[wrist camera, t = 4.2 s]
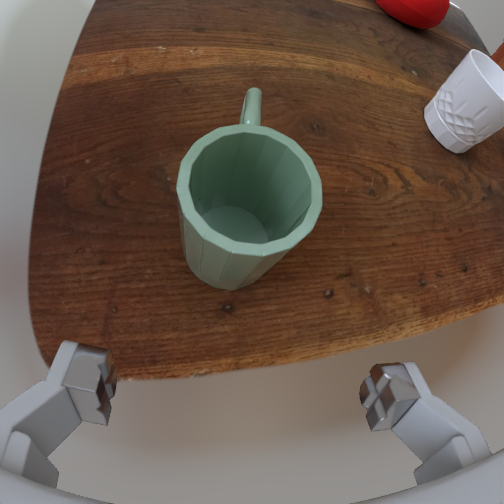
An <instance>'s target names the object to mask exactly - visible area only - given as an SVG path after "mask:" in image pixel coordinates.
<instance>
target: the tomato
mask: <svg viewBox="0 0 504 504" xmlns="http://www.w3.org/2000/svg"><path fill="white" fill-rule="evenodd" d="M375 2H376V3H377V5H378V6H380V7H381V8H382V9H383V10H384V11H385V12H386V13H388V14H389V15H390V16H392V17H394V18H395V19H397V20H399V21H401V22H402V23H405V24H407V25H410V26H413V27H416V28H421V29H428V28H433V27H435V26H437V25H439V23H440V22H441V21H442V20H443V19H444V18H445V15H446V13H447V11H448V9H449V7H450V4H449V0H375Z"/></svg>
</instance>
